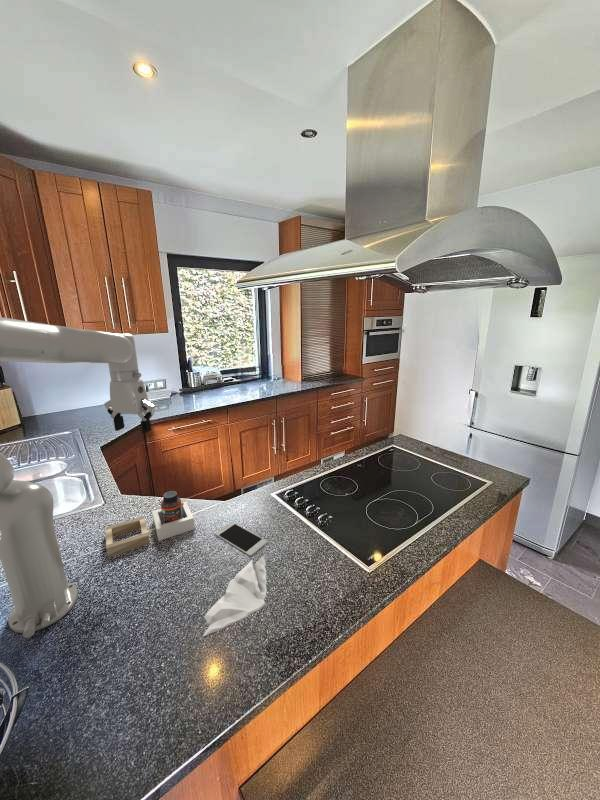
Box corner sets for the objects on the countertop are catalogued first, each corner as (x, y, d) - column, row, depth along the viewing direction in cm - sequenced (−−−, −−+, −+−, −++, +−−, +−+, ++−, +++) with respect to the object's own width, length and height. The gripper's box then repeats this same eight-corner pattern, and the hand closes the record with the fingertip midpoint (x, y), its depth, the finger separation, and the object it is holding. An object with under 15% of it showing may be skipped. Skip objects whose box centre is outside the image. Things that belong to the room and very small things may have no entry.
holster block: (149, 543, 95) (148, 535, 94) (108, 557, 90) (106, 548, 89) (145, 524, 104) (144, 516, 103) (107, 535, 99) (105, 527, 98)
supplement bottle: (165, 534, 99) (161, 501, 96) (162, 524, 104) (157, 492, 101) (185, 527, 102) (182, 495, 99) (181, 517, 107) (177, 487, 104)
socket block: (194, 528, 101) (193, 516, 100) (158, 541, 96) (156, 527, 95) (187, 511, 110) (185, 499, 109) (153, 521, 105) (151, 509, 104)
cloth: (219, 656, 64) (218, 647, 64) (177, 619, 72) (176, 611, 72) (296, 573, 85) (296, 566, 84) (258, 551, 93) (257, 545, 92)
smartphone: (250, 558, 90) (250, 555, 90) (214, 536, 99) (214, 533, 99) (268, 543, 95) (267, 540, 95) (232, 524, 104) (232, 521, 104)
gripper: (158, 374, 97) (165, 428, 102) (110, 372, 101) (119, 424, 106) (141, 379, 90) (149, 437, 94) (90, 377, 94) (100, 432, 99)
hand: (133, 430), depth 100 cm, fingers open, 9 cm apart
